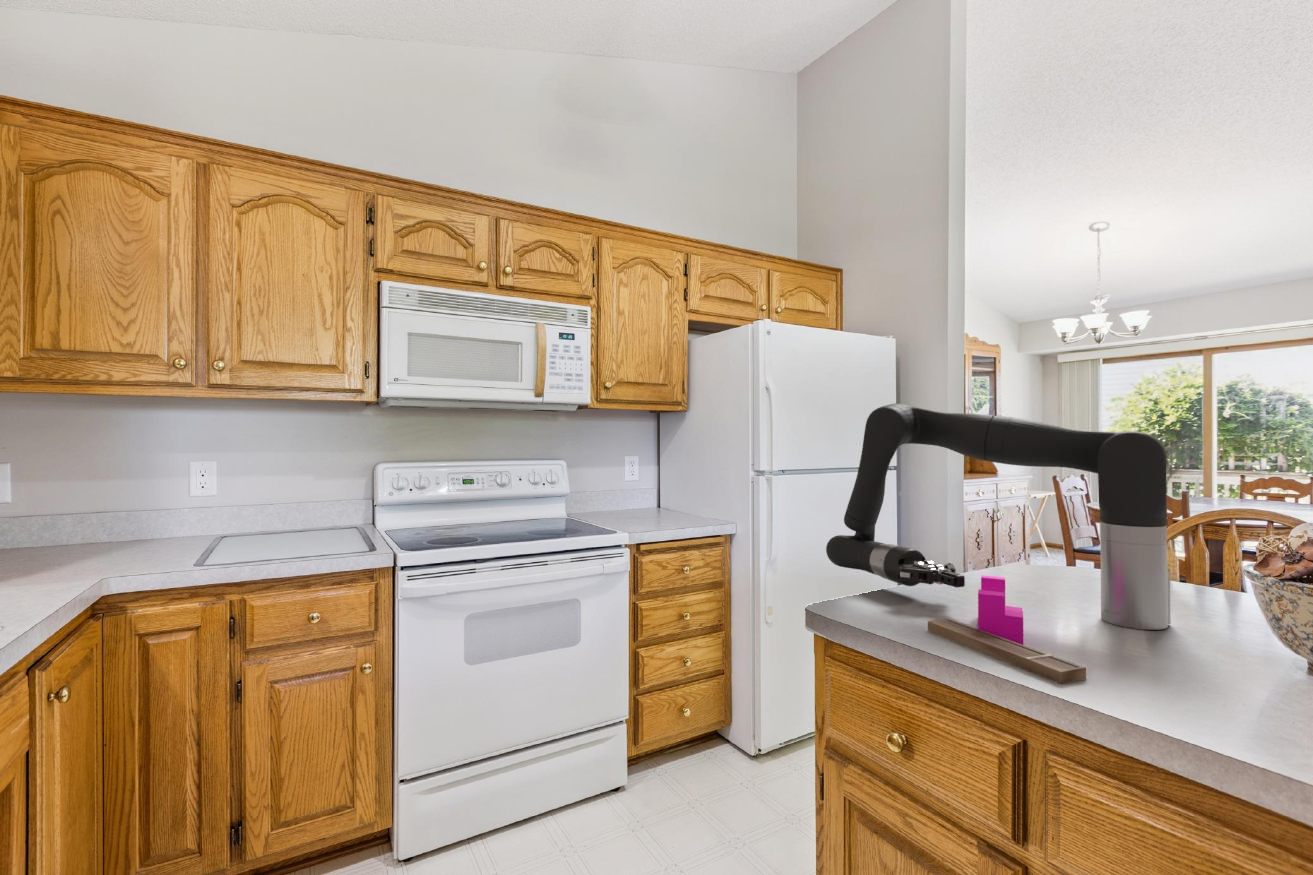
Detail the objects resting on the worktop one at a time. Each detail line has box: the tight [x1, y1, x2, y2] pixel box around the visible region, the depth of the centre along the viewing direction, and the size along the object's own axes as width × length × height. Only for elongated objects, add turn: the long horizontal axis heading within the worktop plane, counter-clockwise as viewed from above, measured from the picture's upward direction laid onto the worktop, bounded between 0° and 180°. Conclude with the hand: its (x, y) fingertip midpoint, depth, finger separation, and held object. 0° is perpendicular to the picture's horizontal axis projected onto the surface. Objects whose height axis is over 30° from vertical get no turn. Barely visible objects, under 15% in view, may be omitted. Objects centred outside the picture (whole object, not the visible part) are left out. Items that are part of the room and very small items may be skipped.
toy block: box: [977, 575, 1024, 645], centre depth 105 cm, size 15×6×8 cm, turn 151°
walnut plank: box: [927, 618, 1087, 685], centre depth 94 cm, size 4×24×2 cm, turn 18°
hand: (961, 581), depth 114 cm, fingers closed
